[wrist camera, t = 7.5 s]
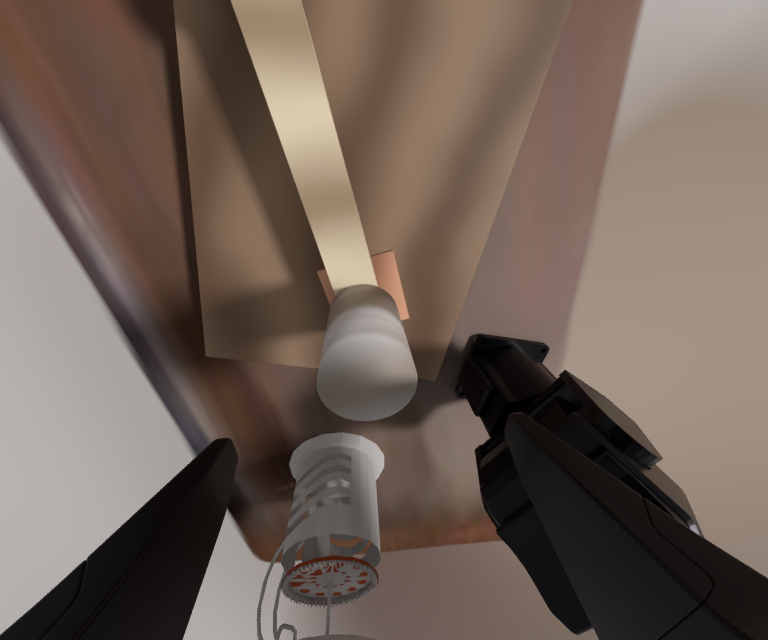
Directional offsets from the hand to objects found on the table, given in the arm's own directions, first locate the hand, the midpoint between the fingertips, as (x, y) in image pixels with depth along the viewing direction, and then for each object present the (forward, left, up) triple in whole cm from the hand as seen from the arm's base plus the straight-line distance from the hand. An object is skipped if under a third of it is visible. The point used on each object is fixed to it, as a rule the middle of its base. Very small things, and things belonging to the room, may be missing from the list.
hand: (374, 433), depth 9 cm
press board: (+2, -6, -13) cm, 14 cm away
